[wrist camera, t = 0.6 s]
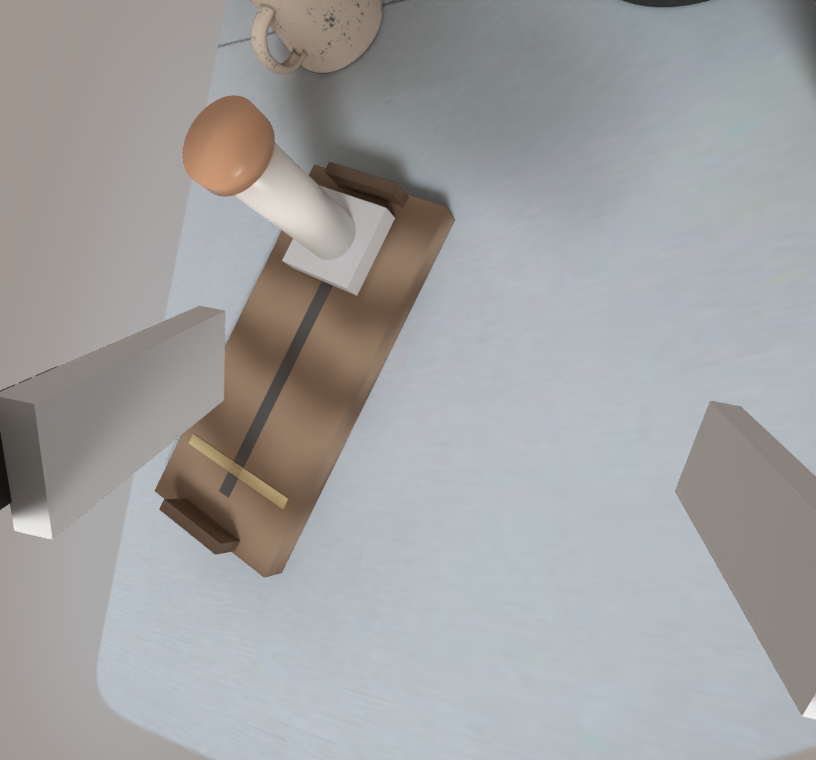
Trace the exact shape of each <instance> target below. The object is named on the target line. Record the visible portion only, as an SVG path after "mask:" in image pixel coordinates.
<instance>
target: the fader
mask: <svg viewBox="0 0 816 760" xmlns="http://www.w3.org/2000/svg"><path fill="white" fill-rule="evenodd" d="M183 163H184V167H185V169H186V172H187V173H188V175H189V176H190V177H191V178H192V179H193V180H195V181H196V182H197V183H199V184H200V185H202V186H203V187H204V188H206V189H207V190H209V191H210V192H211V193H213V194H215V195H219V196H232V195H235V196H236V197H238V198H239V199H240V200H242V201H243V202H244V203H246V204H247V205H248V206H250V207H251V208H252V209H254V210H255V211H256V212H258V213H259V214H261V215H262V216H263V217H265V218H266V219H267V220H269V221H270V222H271V223H273V224H274V225H275V226H277V227H278V228H279V229H281V230H282V231H283V232H285V233H286V234H288V235H289V236H290V237H292V238H293V240H292V242H291V244H290V246H289V248H288V250H287V252H286V254H285V256H284V258H283V260H282V261H283V262H285V263H286V264H288V265H289V266H291V267H292V268H294V269H296V270H299V271H301V272H303V273H305V274H308V275H310V276H312V277H315V278H317V279H319V280H322V281H324V282H326V283H328V284H331V285H333V286H335V287H338V288H340V289H342V290H345V291H347V292H349V293H351V294H354V295H356V296H357V295H358V293H359V291H360V289H361V287H362V285H363V283H364V281H365V279H366V276H367V274H368V272H369V270H370V268H371V266H372V264H373V262H374V260H375V258H376V256H377V254H378V252H379V250H380V248H381V246H382V244H383V242H384V240H385V238H386V236H387V234H388V232H389V230H390V228H391V226H392V223H393V221H394V219H395V217H394V216H393V215H392V214H391V213H390V212H389V211H388V209H387V208H385V207H382V206H379V205H376V204H373V203H370V202H367V201H364V200H361V199H358V198H355V197H352V196H349V195H346V194H343V193H340V192H337V191H334V190H332V189H329V188H326V187H323V186H320V185H318V184H317V183H316V182H315V181H314V180H313V179H312V178H311V177H310V176H309V175H308V174H307V173H306V172H305V171H304V170H303V169H302V168H301V167H300V166H299V165H298V164H296V163H295V162H294V161H293V160H292V159H291V158H290V157H289V156H288V155H287V154H286V153H285V152H284V151H283V150H282V149H281V148H280V147H279V146H278V145H277V144H276V143H275V138H274V131H273V128H272V125H271V123H270V121H269V120H268V119H267V118H266V117H265V116H264V115H263V114H262V113H261V112H260V111H259V110H258V109H257V108H256V107H255V105H254V104H253V103H251V102H250V101H249V100H248V99H246V98H244V97H241V96H227V97H223V98H221V99H218V100H216V101H215V102H213V103H211V104H210V105H209V106H207V107H206V108H205V109H204V110H203V111H202V112H201V113H200V114H199V115H198V116H197V118H196V119H195V120H194V122H193V123H192V125H191V127H190V129H189V131H188V133H187V136H186V139H185V142H184V147H183Z"/></svg>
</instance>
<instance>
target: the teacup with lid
mask: <svg viewBox="0 0 816 760" xmlns="http://www.w3.org/2000/svg"><path fill="white" fill-rule="evenodd" d="M251 1H252V3H253V4H254V5H255V7H256V8H257V9H258V12H257V14H256V16H255V19H254V22H253V25H252V32H251V38H252V46H253V50H254V53H255V55H256V57H257V58H258V60H259V61H260V63H261V64H262V65H263V66H264V67H265V68H267V69H268V70H270V71H272V72H274V73H277V74H283V75H287V74H291V73H293V72H295V71H296V70H297V69H298V68H299V67H300V66H301V65H302V66H303V67H304V68H306V69H308V70H310V71H312V72H317V73H328V72H334V71H337V70H340V69H342V68H344V67H346V66H348V65H349V64H351V63H352V62H354V61H355V60H356V59H358V58H359V57H360V56H361V55H362V54H363V53H364V52H365V51H366V50H367V48H368V47H369V46H370V45H371V43H372V42H373V40H374V38H375V36H376V34H377V32H378V30H379V27H380V24H381V20H382V13H383V8H382V0H251ZM269 25H270V26H271V27H272V29H273V30H274V31H275V32H276V34H277V35H278V36H279V38H280V39H281V40H282V41H283V43H284V44H285V45H286V47H287V48H288V49H289V51H290V52H291V54H290V56H289V57H288V59H287V60H286V61H285V62H284V63H282V64H280V63H278V62H277V61H276V60H275V59H274V58H273V57H272V55H271V54H270V52H269V49H268V46H267V32H268V28H269Z"/></svg>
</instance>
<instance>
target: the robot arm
mask: <svg viewBox="0 0 816 760" xmlns="http://www.w3.org/2000/svg"><path fill="white" fill-rule="evenodd" d="M623 1H626V2H629V3H633V4H637V5H643V6H651V7H676V6H685V5H691V4H697V3H701V2H705V1H709V0H623ZM224 368H225V311H223V310H218V309H213V308H207V307H202V306H198V307H196V308H194V309H191V310H189V311H187V312H184V313H182V314H180V315H177V316H175V317H173V318H170V319H168V320H166V321H163V322H161V323H159V324H157V325H154V326H152V327H150V328H147V329H145V330H143V331H140V332H138V333H136V334H133V335H131V336H129V337H126V338H124V339H122V340H119V341H117V342H115V343H112V344H110V345H108V346H105V347H103V348H101V349H98V350H96V351H94V352H91V353H89V354H87V355H84V356H82V357H80V358H77V359H75V360H73V361H71V362H68V363H66V364H63V365H61V366H58V367H54V368H52V369H50V370H47V371H45V372H43V373H41V374H38V375H36V376H35V377H33V378H32V377H31V378H29V379H26V380H24V381H22V382H19V384H17V385H12V386H10V387H8V388H6V389H3V390H1V391H0V510H1V509H2V508H4V507H5V506H7V505H8V504H10V507H11V513H12V519H13V525H14V530H15V531H18V532H22V533H27V534H31V535H36V536H40V537H44V538H48V539H54V538H55V537H56V536H57V535H58V534H60V533H61V532H62V531H64V530H65V529H66V528H67V527H68V526H70V525H71V524H72V523H73V522H75V521H76V520H77V519H78V518H80V517H81V516H82V515H83V514H84V513H86V512H87V511H88V510H89V509H91V508H92V507H93V506H94V505H95V504H96V503H98V502H99V501H100V500H102V499H103V498H104V497H105V496H107V495H108V494H109V493H110V492H112V491H113V490H114V489H115V488H116V487H118V486H119V485H120V484H121V483H122V482H124V481H125V480H126V479H127V478H129V477H130V476H131V475H132V474H134V473H135V472H136V471H137V470H139V469H140V468H141V467H142V466H144V465H145V464H146V463H147V462H148V461H150V460H151V459H152V458H153V457H155V456H156V455H157V454H158V453H160V452H161V451H162V450H163V449H165V448H166V447H167V446H168V445H169V444H171V443H172V442H173V441H174V440H176V439H177V438H178V437H179V436H181V435H182V434H183V433H184V432H185V431H187V430H188V429H189V428H190V427H192V426H193V425H194V424H195V423H197V422H198V421H199V420H200V419H201V418H203V417H204V416H205V415H206V414H208V413H209V412H210V411H211V410H213V409H214V408H215V407H216V406H217V405H219V404H220V403H221V402H222V401H224ZM675 492H676V494H677V496H678V498H679V499H680V501H681V503H682V505H683V506H684V508H685V510H686V512H687V513H688V515H689V517H690V519H691V521H692V522H693V524H694V526H695V528H696V529H697V531H698V533H699V535H700V536H701V538H702V540H703V542H704V544H705V545H706V547H707V549H708V551H709V552H710V554H711V556H712V558H713V559H714V561H715V563H716V565H717V567H718V568H719V570H720V572H721V574H722V575H723V577H724V579H725V581H726V582H727V584H728V586H729V588H730V589H731V591H732V593H733V595H734V597H735V598H736V600H737V602H738V604H739V605H740V607H741V609H742V611H743V612H744V614H745V616H746V618H747V620H748V621H749V623H750V625H751V627H752V628H753V630H754V632H755V634H756V635H757V637H758V639H759V641H760V643H761V644H762V646H763V648H764V650H765V651H766V653H767V655H768V657H769V658H770V660H771V662H772V664H773V666H774V667H775V669H776V671H777V673H778V674H779V676H780V678H781V680H782V681H783V683H784V685H785V687H786V688H787V690H788V692H789V694H790V696H791V697H792V699H793V701H794V703H795V704H796V706H797V708H798V710H799V711H800V713H801V715H802V716H804V717H808V718H813V719H816V476H815V475H813V474H812V473H811V472H810V471H809V470H808V469H807V468H806V467H805V466H804V465H803V464H802V463H801V462H800V461H799V460H797V459H796V458H795V457H794V456H793V455H792V454H791V453H790V452H789V451H788V450H787V449H786V448H785V447H784V446H783V445H782V444H780V443H779V442H778V441H777V440H776V439H775V438H774V437H773V436H772V435H771V434H770V433H769V432H768V431H767V430H766V429H764V428H763V427H762V426H761V425H760V424H759V423H758V422H757V421H756V420H755V419H754V418H753V417H752V416H751V415H750V414H748V413H747V412H746V411H745V410H744V409H743V408H742V407H741V406H736V405H730V404H725V403H719V402H714V401H710V402H709V405H708V407H707V410H706V413H705V415H704V418H703V420H702V423H701V425H700V428H699V431H698V433H697V436H696V438H695V441H694V443H693V446H692V449H691V451H690V454H689V456H688V459H687V461H686V464H685V467H684V469H683V472H682V474H681V477H680V479H679V482H678V485H677V487H676V490H675Z"/></svg>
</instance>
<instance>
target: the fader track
mask: <svg viewBox="0 0 816 760" xmlns="http://www.w3.org/2000/svg"><path fill="white" fill-rule="evenodd" d="M309 176H310V177H311V178H312V179H313V180H314V181H315V182H316V183H317V184H318V185H320V186H323V187H326V188H329V189H332V190H334V191H337V192H340V193H343V194H346V195H349V196H352V197H355V198H358V199H361V200H364V201H367V202H370V203H373V204H376V205H379V206H382V207H385V208H387V209H388V211H389V212H390V213H391V214H392V215H393V216H394V217H395V219H394V221H393V223H392V226H391V228H390V230H389V232H388V234H387V236H386V238H385V240H384V242H383V244H382V246H381V248H380V250H379V252H378V254H377V256H376V258H375V260H374V262H373V264H372V266H371V268H370V270H369V272H368V274H367V276H366V279H365V281H364V283H363V285H362V287H361V289H360V291H359V293H358V295H357V296H356V295H354V294H351V293H349V292H347V291H345V290H342V289H340V288H338V287H335V286H333V285H331V284H328V283H326V282H324V281H322V280H319V279H317V278H315V277H312V276H310V275H308V274H305V273H303V272H301V271H299V270H296V269H294V268H292V267H291V266H289V265H288V264H286V263H285V262H283V261H282V260H283V258H284V256H285V254H286V252H287V250H288V248H289V246H290V244H291V242H292V240H293V238H292V237H290V236H289V235H288V234H286V233H285V232H283V231H282V232H281V234H280V236H279V238H278V240H277V242H276V244H275V246H274V248H273V250H272V252H271V254H270V256H269V258H268V260H267V262H266V264H265V267H264V269H263V271H262V273H261V275H260V277H259V279H258V281H257V283H256V285H255V287H254V289H253V291H252V293H251V295H250V297H249V299H248V301H247V303H246V305H245V307H244V309H243V311H242V313H241V315H240V318H239V320H238V322H237V324H236V326H235V328H234V330H233V332H232V334H231V336H230V338H229V340H228V342H227V344H226V346H225V368H224V401H222V402H221V403H220V404H219V405H217V406H216V407H215V408H214V409H213V410H211V411H210V412H209V413H208V414H206V415H205V416H204V417H203V418H201V419H200V420H199V421H198V422H197V423H195V424H194V425H193V426H192V427H190V428H189V429H188V430H187V431H185V432H184V433H183V434H182V436H181V438H180V440H179V442H178V444H177V446H176V448H175V450H174V452H173V454H172V456H171V458H170V460H169V462H168V465H167V467H166V469H165V471H164V473H163V475H162V477H161V479H160V481H159V483H158V485H157V487H156V489H155V492H156V493H158V494H159V495H160V496H162V497H163V498H164V501H163V503H162V505H161V507H160V510H161V511H162V512H163V513H165V514H166V515H167V516H168V517H169V518H171V519H172V520H173V521H174V522H176V523H177V524H178V525H179V526H181V527H182V528H183V529H184V530H186V531H187V532H188V533H189V534H191V535H192V536H193V537H194V538H196V539H197V540H198V541H199V542H200V543H202V544H203V545H204V546H205V547H207V548H208V549H209V550H210V551H212V552H213V553H214V554H221V553H227V552H233V553H234V554H235V555H236V556H238V557H239V558H240V559H241V560H243V561H244V562H245V563H247V564H248V565H249V566H250V567H252V568H253V569H254V570H255V571H257V572H258V573H259V574H260V575H262V576H263V577H268V576H272V575H276V574H280V573H282V571H283V569H284V567H285V565H286V563H287V561H288V559H289V557H290V555H291V553H292V551H293V549H294V547H295V545H296V542H297V540H298V538H299V536H300V534H301V532H302V530H303V528H304V526H305V524H306V522H307V520H308V518H309V516H310V514H311V512H312V510H313V508H314V506H315V504H316V502H317V500H318V498H319V496H320V494H321V492H322V490H323V487H324V485H325V483H326V481H327V479H328V477H329V475H330V473H331V471H332V469H333V467H334V465H335V463H336V461H337V459H338V457H339V455H340V453H341V451H342V449H343V447H344V445H345V443H346V441H347V439H348V437H349V435H350V433H351V430H352V428H353V426H354V424H355V422H356V420H357V418H358V416H359V414H360V412H361V410H362V408H363V406H364V404H365V402H366V400H367V398H368V396H369V394H370V392H371V390H372V388H373V386H374V384H375V382H376V380H377V378H378V375H379V373H380V371H381V369H382V367H383V365H384V363H385V361H386V359H387V357H388V355H389V353H390V351H391V349H392V347H393V345H394V343H395V341H396V339H397V337H398V335H399V333H400V331H401V329H402V327H403V325H404V323H405V321H406V318H407V316H408V314H409V312H410V310H411V308H412V306H413V304H414V302H415V300H416V298H417V296H418V294H419V292H420V290H421V288H422V286H423V284H424V282H425V280H426V278H427V276H428V274H429V272H430V270H431V268H432V266H433V263H434V261H435V259H436V257H437V255H438V253H439V251H440V249H441V247H442V245H443V243H444V241H445V239H446V237H447V235H448V233H449V231H450V229H451V227H452V225H453V223H454V221H455V219H454V218H453V216H452V215H451V213H450V212H449V210H448V209H447V207H446V206H443V205H440V204H436V203H433V202H430V201H427V200H424V199H421V198H418V197H414V196H411V195H408V194H406V193H405V192H404V191H403V189H402V188H401V187H400V186H399V184H398V183H396V182H393V181H390V180H386V179H383V178H380V177H377V176H374V175H370V174H367V173H364V172H361V171H357V170H354V169H351V168H348V167H344V166H341V165H338V164H335V163H331V162H329V164H328V166H327V168H323V167H320V166H317V165H314V166H313V169H312V171H311V173H310V175H309Z"/></svg>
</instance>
